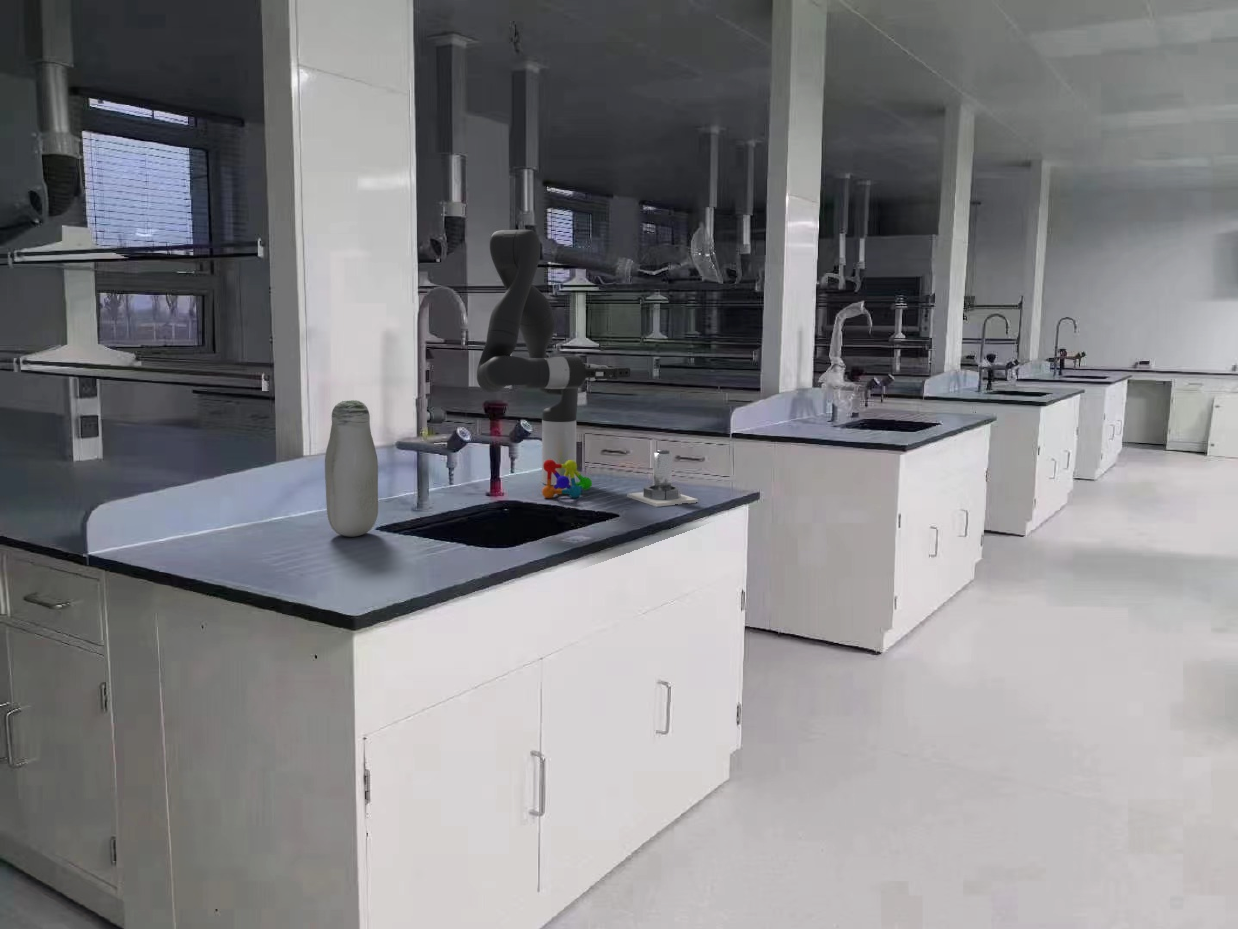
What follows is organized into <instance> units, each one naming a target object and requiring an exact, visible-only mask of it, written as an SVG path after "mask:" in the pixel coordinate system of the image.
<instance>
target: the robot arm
mask: <svg viewBox="0 0 1238 929" xmlns="http://www.w3.org/2000/svg"><path fill="white" fill-rule="evenodd" d="M541 250H542V249H541V241H540V238H539V236H538V234H537V232H535V231H534V230H532V229H501V230H497V231H493V233H492V234H491V236H490V238H489V253H490V256H491V261H492V263H493V265H494V268H495V270H496V272H497V274H498V276H499V278H500V280H501V282H502V285H503V286H504V289H505V292H504V294H503V295H502V296H501V298H499V300H498V301H497V303H496V304H495V305H494V308H493V309H492V310H491V311H492V312H491V313H490V318H489V324H488V328H487V334H486V341H485V344H484V346H483V349H482V353H481V355H480V359H479V360H478V361H479V362H478V365H477V370H476V381H477V384H478V385H479V387H480V388H481V389H482V390H483V391H484V392H486V393H493V394H494V393H497V392H499V391H501V390H503V389H504V388H506V387H509V386H510V387H511V386H520V387H522V388H524V389H531V390H532V389H533V390H535V389H538V390H539V392H541V393H542V394H545V395H553V396H554V395H555V396H558V395H559V396H561V399H560V401H559V402H558V403H557V404H555V405H552V406H550V407H547V408H544V409H543V410H542V412H541V428H542V429H541V443H542V444H541V483H542V484H543V485H547V471H545V470H544V468H543V464H544V462H545V461H546V460H553V461H554V462H555V463H556V464H565V463H566V462H567V461H568V460H573V461H575V462H576V463H577V415H578V414H577V413H578V398H579V397H578V396H579V389H580V388H581V387H582V386H583V385H584V383H585V381H588V382H595V381H607V380H619V378H630V377H631V369H630V367H616V366H614V367H613V366H612V365H605V364H603V365H601V364H600V365H598V364H595V363H584V361H583V359H582V358H581V357H580V356H548V355H547V349H548V346H549V344H550V342H551V340H552V338H553V336H554V334H555V331H556V318H555V316H554V313H553V310H552V306H551V303H550V301H549V300H548V299H547V296H546V295H544V294H543V293H542V292H541V291H540V290H539V289H538V288H537V287H536V286H534V285H533V282H534V278H535V277H536V276H535V275H536V273H537V270H538V266H539V263H540V258H541ZM520 332H521V335H522V338H523V341H524V343H525V346H526V350H527V352H528V355H529V358H523V357H521V356H520V357H519V356H514V355H512V354H513V352H514V351H515V350H516V347H517V344H518V339H519V333H520ZM555 470H556V471H557V472H558V473H559V475H560V476H564V475H565V472H566V470H565V468H556V469H555ZM574 476H575V482H576V483H577V476H576V475H575V474H574ZM568 479H569V484H571V478H570V474H569V476H568ZM556 480H557V478H556V477H555V475H554V474H553V473H552V476H551V486H554V485H555V484H556Z"/></svg>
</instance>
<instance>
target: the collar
mask: <svg viewBox="0 0 1238 929" xmlns="http://www.w3.org/2000/svg"><path fill="white" fill-rule="evenodd" d="M643 492H644V494H643V497H646V498H649V499H655V500H672V499H678V498H679V497H681V494H682V487H680V486H676V485H673V484H671V490H653V484H651V485H646V486H644V487H643Z"/></svg>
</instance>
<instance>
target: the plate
mask: <svg viewBox="0 0 1238 929" xmlns="http://www.w3.org/2000/svg"><path fill="white" fill-rule="evenodd" d="M626 494H627V498H629V499H633V500H636V501H639V502H641V503H645V504H647V505H650V506H653V507H656V508H657V507H667V506H669V507H670V506H676V505H675V504H678V505H683V504H682V503H688V504H696V502H697V503H698V500H699V499H698V498H696V497H695V498H694V497H691V496H689V495H685V494H682V493H681V497H679V498H678V499H672V500H655V499H649V498H646V497H643V494H644V491H642V492H632V493H626Z"/></svg>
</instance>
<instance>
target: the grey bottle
mask: <svg viewBox="0 0 1238 929" xmlns="http://www.w3.org/2000/svg"><path fill="white" fill-rule="evenodd" d="M370 417H371V416H370V412H369V409H368V407H367V405H366V404H365V403H364V402H362V401H360V400H356V399H355V400H354V399H353V400H342V401H340V402H338V403H336V404H335V405H334V406H333V409H332V412H331V426H330V434H329V439H328V444H327V446H326V450H325V456H324V478H325V498H326V500H325V501H326V502H325V503H326V514H327V520H328V523H329V525H330V526H331V529H332V530H333V531H334V533H336V534H337V535H341V536H343V537H350V538H351V537H352V538H353V537H359V536H362V535H365V534H367V533H368V532H370V531H371V530H372V529H373V527H374V525H375V524H376V522H377V519H378V514H379V486H378V485H379V463H378V462H379V461H378V454H377V450H376V447H375V443H374V439H373V436H372V431H371V430H372V429H371V423H370V422H371V420H370V419H371V418H370Z"/></svg>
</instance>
